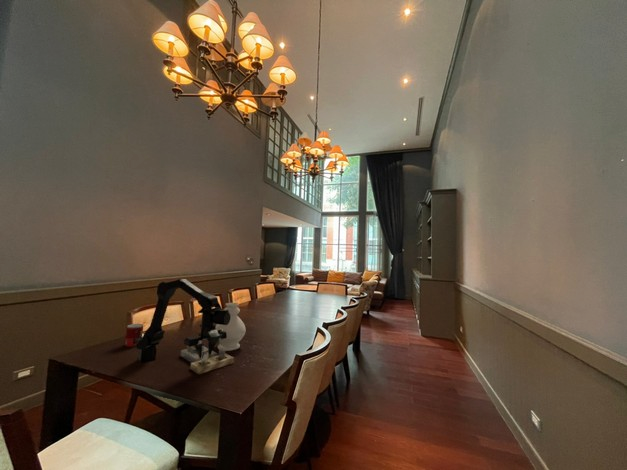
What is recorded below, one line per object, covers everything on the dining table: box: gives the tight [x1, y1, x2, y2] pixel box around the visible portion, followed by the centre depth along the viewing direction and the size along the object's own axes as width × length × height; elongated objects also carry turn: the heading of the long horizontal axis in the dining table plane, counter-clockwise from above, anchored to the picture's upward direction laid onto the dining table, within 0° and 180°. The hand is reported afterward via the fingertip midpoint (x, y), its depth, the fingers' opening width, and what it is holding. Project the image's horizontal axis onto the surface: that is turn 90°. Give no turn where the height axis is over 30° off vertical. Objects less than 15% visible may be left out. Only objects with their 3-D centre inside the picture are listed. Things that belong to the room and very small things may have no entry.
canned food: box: [124, 323, 144, 348], centre depth 144 cm, size 8×8×11 cm
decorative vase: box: [215, 302, 246, 352], centre depth 149 cm, size 18×18×25 cm
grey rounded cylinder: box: [201, 350, 209, 366], centre depth 119 cm, size 3×3×8 cm
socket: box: [180, 345, 218, 364], centre depth 131 cm, size 11×16×5 cm
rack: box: [190, 349, 235, 375], centre depth 122 cm, size 18×8×6 cm, turn 142°
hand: (204, 356), depth 119 cm, fingers open, 4 cm apart
